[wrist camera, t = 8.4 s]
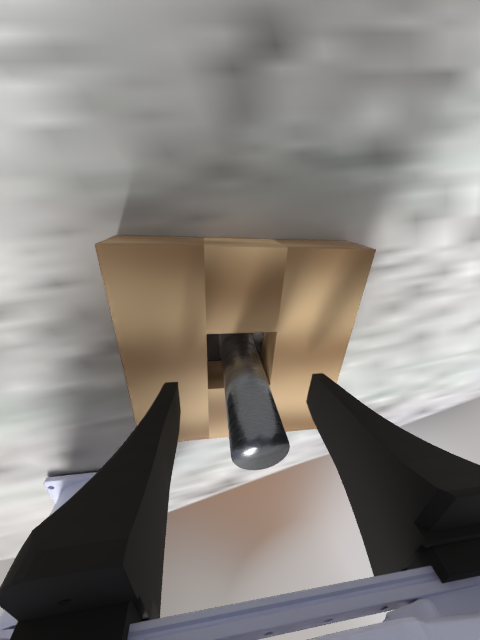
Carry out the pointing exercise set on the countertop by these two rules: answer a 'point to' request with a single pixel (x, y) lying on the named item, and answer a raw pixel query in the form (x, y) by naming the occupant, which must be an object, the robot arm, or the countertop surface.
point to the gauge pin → (250, 406)
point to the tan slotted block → (230, 317)
